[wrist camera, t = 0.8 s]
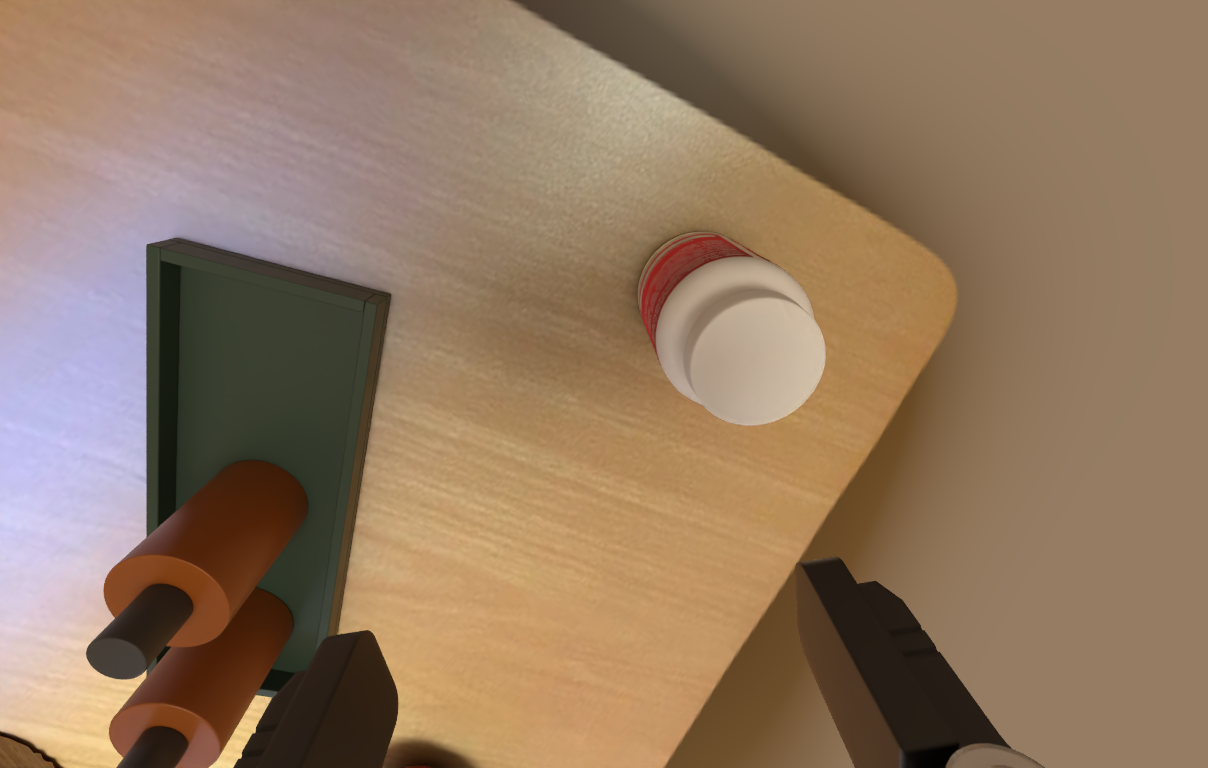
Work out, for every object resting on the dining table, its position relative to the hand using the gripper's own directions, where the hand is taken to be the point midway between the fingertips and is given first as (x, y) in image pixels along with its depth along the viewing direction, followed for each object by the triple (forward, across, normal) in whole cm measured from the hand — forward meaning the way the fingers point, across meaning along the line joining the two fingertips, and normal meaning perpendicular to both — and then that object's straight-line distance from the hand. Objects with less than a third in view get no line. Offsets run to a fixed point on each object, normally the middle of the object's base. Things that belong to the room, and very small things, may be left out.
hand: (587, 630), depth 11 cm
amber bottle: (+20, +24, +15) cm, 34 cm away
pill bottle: (+21, -6, -1) cm, 22 cm away
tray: (+21, +20, +7) cm, 29 cm away
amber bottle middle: (+20, +20, +7) cm, 29 cm away
